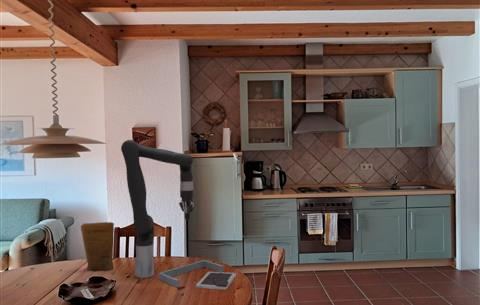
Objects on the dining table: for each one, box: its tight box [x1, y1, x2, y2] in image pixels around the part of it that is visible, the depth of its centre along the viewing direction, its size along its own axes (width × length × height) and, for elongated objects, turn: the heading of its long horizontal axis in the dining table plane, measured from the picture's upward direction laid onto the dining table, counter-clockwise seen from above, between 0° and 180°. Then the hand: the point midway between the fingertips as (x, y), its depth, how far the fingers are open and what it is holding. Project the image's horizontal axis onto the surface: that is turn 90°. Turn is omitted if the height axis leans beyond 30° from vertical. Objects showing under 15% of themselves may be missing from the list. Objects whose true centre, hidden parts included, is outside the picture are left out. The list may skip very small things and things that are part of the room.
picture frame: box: [195, 271, 237, 291], centre depth 201 cm, size 16×3×21 cm
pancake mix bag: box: [80, 221, 115, 272], centre depth 224 cm, size 7×19×28 cm, turn 83°
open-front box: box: [158, 259, 224, 288], centre depth 210 cm, size 31×17×4 cm, turn 134°
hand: (187, 219), depth 220 cm, fingers closed
